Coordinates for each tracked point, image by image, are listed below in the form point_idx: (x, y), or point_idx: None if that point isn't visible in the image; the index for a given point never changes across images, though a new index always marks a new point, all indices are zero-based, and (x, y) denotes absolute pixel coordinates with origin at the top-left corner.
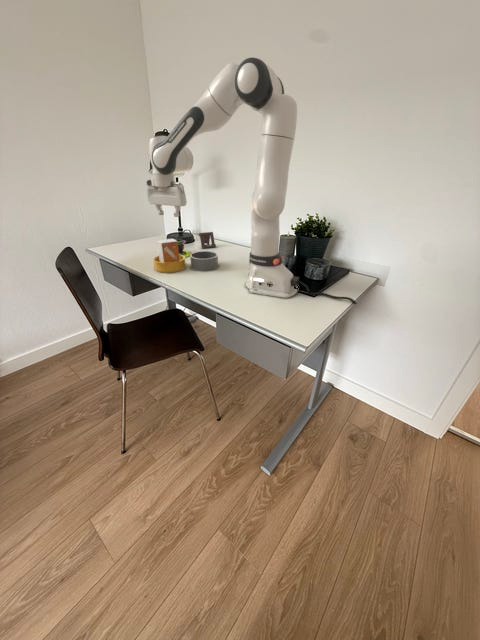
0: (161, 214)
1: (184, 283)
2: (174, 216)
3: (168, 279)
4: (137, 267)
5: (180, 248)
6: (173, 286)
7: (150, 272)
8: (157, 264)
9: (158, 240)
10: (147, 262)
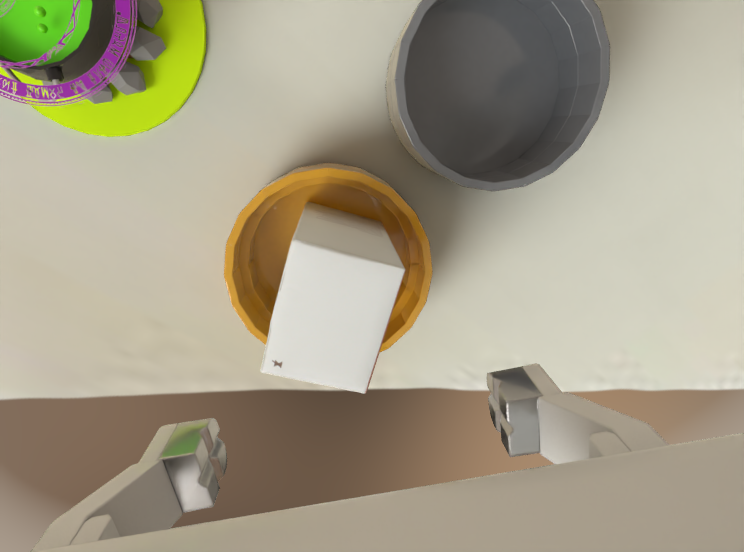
0: (223, 462)
1: (560, 339)
2: (490, 413)
3: (462, 358)
4: (185, 371)
5: (131, 18)
6: None
7: None
8: None
9: (267, 364)
10: (134, 288)
